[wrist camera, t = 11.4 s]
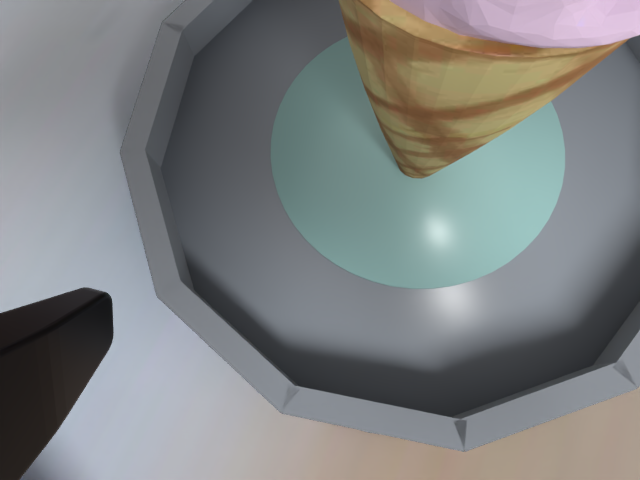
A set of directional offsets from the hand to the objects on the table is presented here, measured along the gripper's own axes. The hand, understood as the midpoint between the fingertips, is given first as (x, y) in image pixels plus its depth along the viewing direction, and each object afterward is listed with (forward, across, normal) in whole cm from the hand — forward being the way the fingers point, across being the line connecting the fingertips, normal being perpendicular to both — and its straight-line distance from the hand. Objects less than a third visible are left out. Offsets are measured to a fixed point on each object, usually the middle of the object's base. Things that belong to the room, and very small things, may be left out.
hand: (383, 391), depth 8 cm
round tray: (+13, 0, 0) cm, 13 cm away
